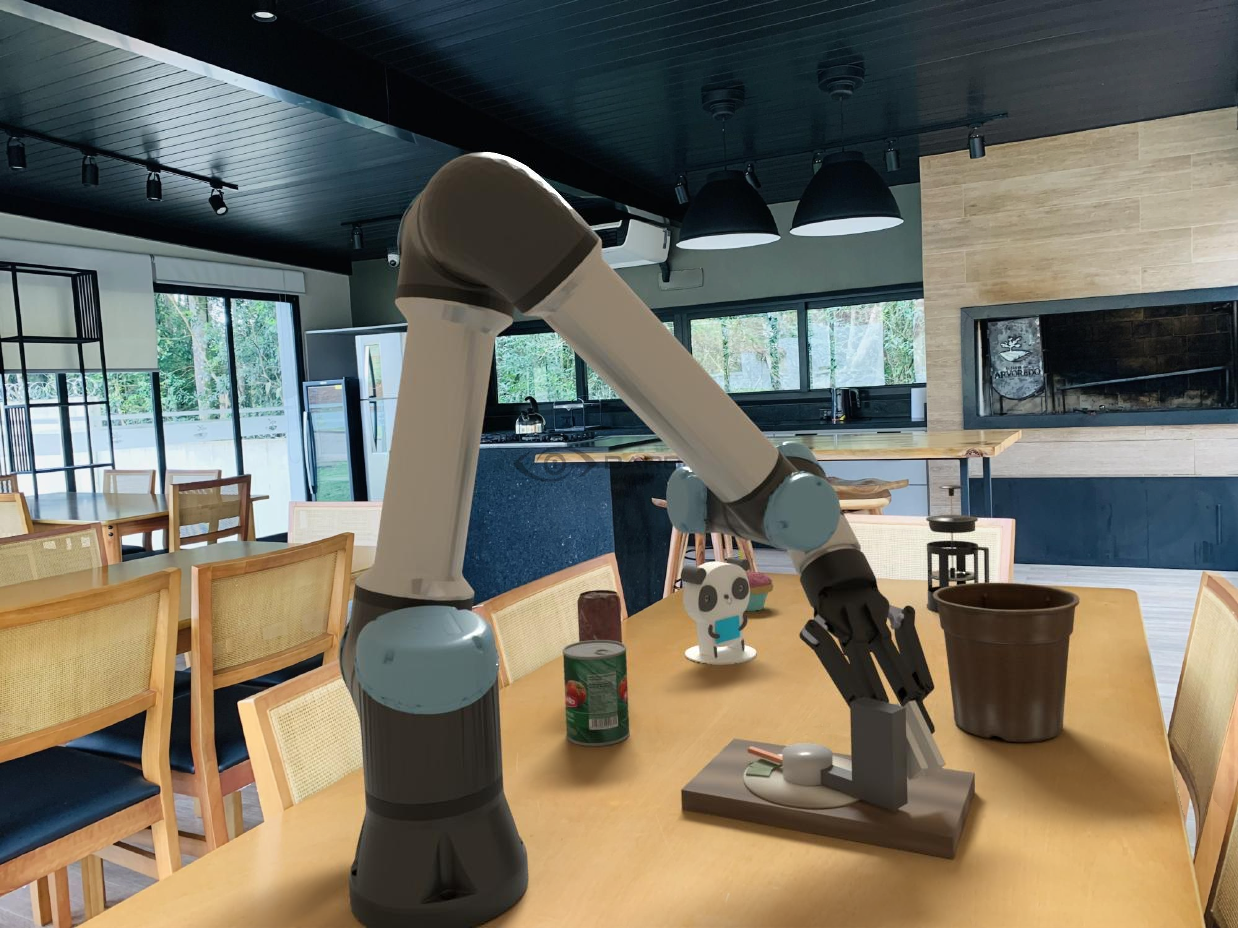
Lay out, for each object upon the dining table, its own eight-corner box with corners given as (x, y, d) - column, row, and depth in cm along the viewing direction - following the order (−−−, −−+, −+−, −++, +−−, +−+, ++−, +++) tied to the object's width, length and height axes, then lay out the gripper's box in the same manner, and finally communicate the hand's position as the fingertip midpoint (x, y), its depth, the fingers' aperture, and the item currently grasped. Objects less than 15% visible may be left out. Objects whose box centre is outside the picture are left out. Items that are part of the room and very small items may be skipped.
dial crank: (734, 761, 99) (731, 675, 98) (765, 748, 102) (762, 665, 101) (885, 816, 84) (883, 717, 84) (915, 799, 88) (914, 703, 87)
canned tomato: (553, 735, 116) (549, 648, 115) (602, 719, 121) (599, 636, 120) (593, 752, 110) (589, 660, 109) (643, 734, 115) (639, 647, 114)
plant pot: (907, 715, 117) (905, 589, 116) (1008, 696, 123) (1006, 576, 122) (1002, 760, 102) (1000, 616, 101) (1112, 736, 108) (1111, 599, 107)
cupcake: (725, 612, 176) (723, 550, 175) (733, 602, 184) (731, 543, 184) (770, 613, 174) (768, 550, 173) (776, 603, 182) (774, 543, 181)
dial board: (953, 859, 81) (952, 831, 81) (681, 808, 93) (680, 784, 93) (974, 791, 94) (974, 767, 94) (734, 755, 107) (734, 734, 106)
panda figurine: (714, 670, 140) (711, 572, 139) (667, 655, 149) (663, 563, 148) (771, 654, 147) (768, 561, 146) (722, 641, 156) (719, 553, 155)
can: (621, 696, 129) (616, 597, 128) (577, 695, 131) (572, 597, 130) (629, 683, 135) (625, 588, 134) (587, 682, 137) (582, 588, 136)
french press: (915, 609, 172) (912, 486, 170) (934, 600, 179) (932, 481, 178) (979, 617, 165) (977, 488, 163) (996, 606, 172) (995, 483, 170)
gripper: (873, 576, 106) (971, 774, 92) (761, 590, 102) (846, 800, 88) (900, 538, 101) (1009, 742, 87) (783, 552, 96) (878, 769, 82)
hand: (927, 771), depth 87 cm, fingers closed
